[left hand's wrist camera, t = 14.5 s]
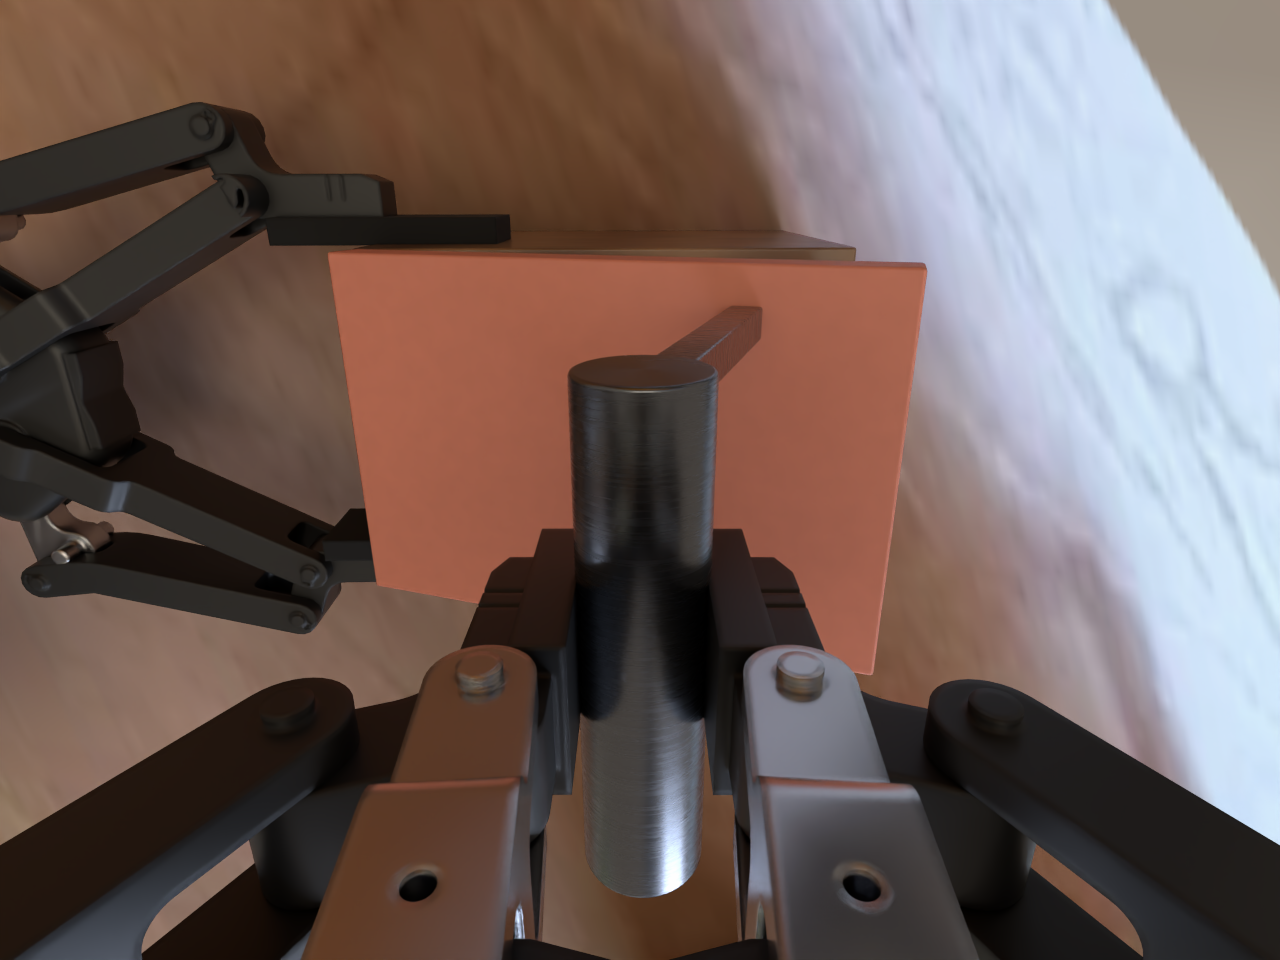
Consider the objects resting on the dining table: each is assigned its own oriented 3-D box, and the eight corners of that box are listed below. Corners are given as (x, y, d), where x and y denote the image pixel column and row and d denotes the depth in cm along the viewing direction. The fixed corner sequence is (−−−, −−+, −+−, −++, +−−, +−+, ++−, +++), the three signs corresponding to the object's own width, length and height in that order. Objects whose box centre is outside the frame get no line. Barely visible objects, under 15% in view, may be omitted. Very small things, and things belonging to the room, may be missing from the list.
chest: (783, 230, 29) (857, 247, 20) (768, 457, 32) (825, 562, 23) (439, 231, 29) (350, 248, 19) (460, 460, 32) (394, 566, 23)
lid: (926, 262, 15) (955, 340, 7) (874, 649, 19) (853, 1000, 11) (357, 248, 19) (-36, 288, 11) (399, 567, 23) (122, 775, 15)
